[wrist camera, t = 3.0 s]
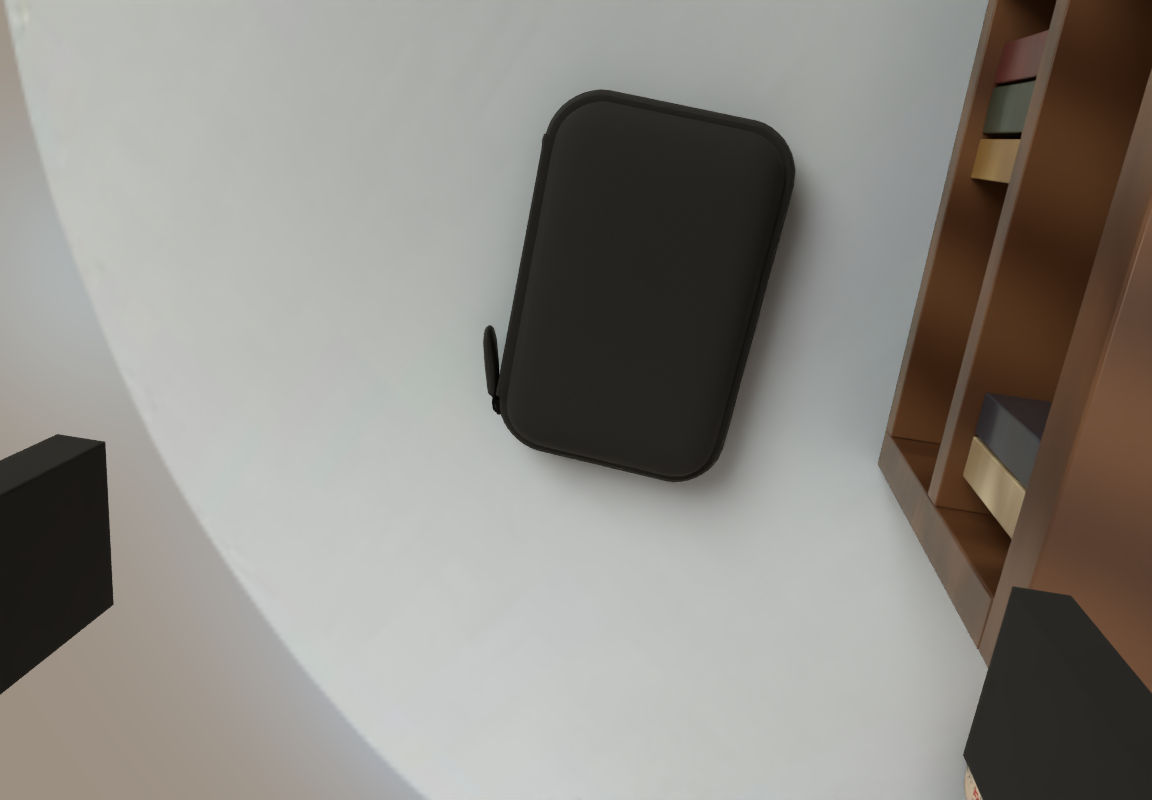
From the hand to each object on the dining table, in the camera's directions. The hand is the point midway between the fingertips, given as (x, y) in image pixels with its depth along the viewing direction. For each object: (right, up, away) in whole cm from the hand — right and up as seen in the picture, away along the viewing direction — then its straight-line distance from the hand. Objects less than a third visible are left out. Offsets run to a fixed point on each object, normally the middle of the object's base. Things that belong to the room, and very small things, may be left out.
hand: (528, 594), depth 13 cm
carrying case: (+3, +8, +24) cm, 25 cm away
